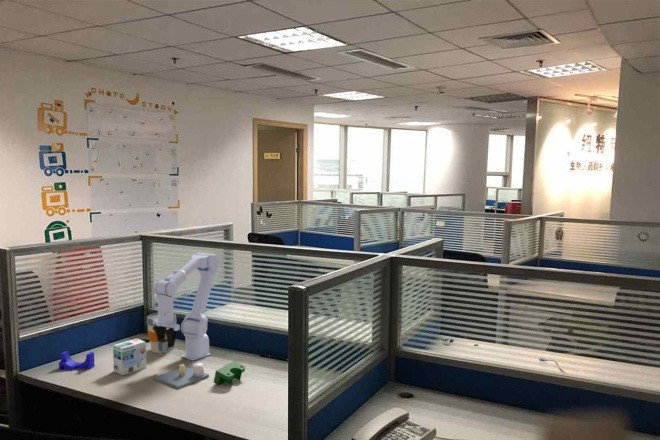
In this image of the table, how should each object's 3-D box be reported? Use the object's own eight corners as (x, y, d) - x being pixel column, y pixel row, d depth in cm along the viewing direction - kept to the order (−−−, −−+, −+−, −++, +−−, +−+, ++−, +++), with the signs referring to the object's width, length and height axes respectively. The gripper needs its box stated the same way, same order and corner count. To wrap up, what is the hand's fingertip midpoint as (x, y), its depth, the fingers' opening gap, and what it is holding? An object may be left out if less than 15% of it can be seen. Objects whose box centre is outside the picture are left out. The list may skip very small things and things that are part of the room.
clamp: (227, 397, 190) (225, 380, 185) (214, 390, 193) (212, 373, 188) (247, 375, 199) (246, 358, 194) (235, 369, 202) (233, 352, 197)
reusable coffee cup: (170, 342, 237) (169, 310, 235) (181, 350, 227) (181, 316, 226) (142, 348, 229) (142, 315, 227) (153, 356, 219) (152, 321, 218)
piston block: (185, 368, 206) (185, 356, 206) (208, 376, 198) (208, 364, 197) (154, 379, 195) (154, 366, 194) (178, 388, 186) (178, 375, 186)
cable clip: (59, 370, 204) (58, 355, 203) (65, 365, 208) (65, 351, 207) (88, 371, 203) (88, 356, 202) (94, 366, 207) (94, 352, 207)
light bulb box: (122, 375, 198) (121, 348, 197) (112, 371, 202) (112, 344, 201) (147, 367, 206) (146, 341, 205) (137, 363, 210) (136, 337, 210)
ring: (167, 345, 208) (167, 337, 207) (176, 348, 204) (176, 340, 204) (155, 349, 203) (155, 340, 203) (164, 352, 200) (164, 343, 200)
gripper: (145, 310, 204) (146, 343, 205) (168, 316, 195) (169, 351, 196) (161, 306, 209) (161, 339, 210) (183, 312, 201) (184, 346, 202)
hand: (166, 345), depth 204 cm, fingers closed on ring, 6 cm apart
